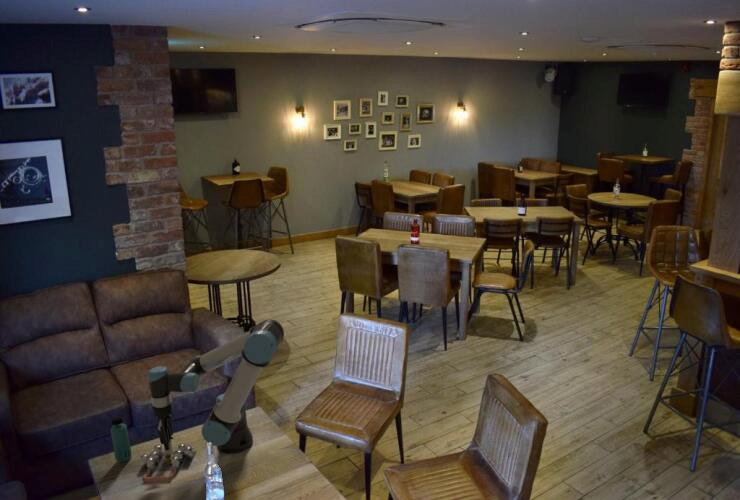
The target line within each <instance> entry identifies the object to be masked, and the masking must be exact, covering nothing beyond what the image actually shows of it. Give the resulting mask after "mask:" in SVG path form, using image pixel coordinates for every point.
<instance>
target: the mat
mask: <svg viewBox="0 0 740 500" xmlns="http://www.w3.org/2000/svg"><path fill="white" fill-rule="evenodd" d="M192 453H193V459H192V460H186V458H185V457H184V458H183V461H184V462H183V463H182V464H180V469H179V470H178V471H188V470H189V468H190V467H191V466H192V465H191V464H192V463H193V460H194V458H195V457H196V455H197V453H198V451H197V450H196V451H193V450H192ZM148 456H149V457H151V456H150V453H149V454H148ZM163 456H165V452H163ZM173 456H175V451H173ZM155 468H156V470H155V471H154V472H167V471H169V472H172V471H173V470H172V464H171V465H164V463H163V457H162V458H161V459H159V464H158V465H155ZM147 471H148V469H143V468H142V466H141V468H140V469H139V470H138V473H146V472H147Z"/></svg>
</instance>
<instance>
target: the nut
mask: <svg viewBox="0 0 740 500" xmlns="http://www.w3.org/2000/svg"><path fill="white" fill-rule="evenodd" d="M172 457H173V454H166V455H165V456H163V463H164V465H171V464H172V463H171V458H172Z"/></svg>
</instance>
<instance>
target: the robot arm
mask: <svg viewBox="0 0 740 500" xmlns="http://www.w3.org/2000/svg"><path fill="white" fill-rule="evenodd" d="M283 327H284V326H282V324H281V323H280V322H279V321H277V320H276V319H275V320H274V319H265V320H261V322H259V323H257V324H256V325H254V326H252V327H250V328H249V331H247V332H245V333H244V334H241V335H240V336H237V337H236V338H233V339H232V340H229V341H227V342H225V343H224V344H221V345H219V346H218V347H216V348H213V349H211V350H210V351H208V352H206V353H204V354H202V355H196V356H194V357H193V358H192V359H190V361H188V362H187V364H186V365H185V366H184V367H183V368H182V369H181V370H180V371H179V372H169V370H168V368H167V367H166V366H163V365H159V366H154V367H153V368H151V369H149V370H148V377H147V378H148V381H147V382H148V384H149V385H148V386H149V390H150V399H151V405H152V413H153V415H154V416H155V417H156V418H157V423H158V425H157V426H156V427H155V430H156V432H157V434H158V438H159V442H160V445H163V447H164V453H165V455H166V454H173V452H174V450H173V445H172V444H173V443H172V440H174V436H173V435H174V434H173V433H174V429H173V412H174V411H173V409H174V408H173V402H172V401H173V399H172V393H173V392H175V393H195V392H196V391H197V390H198V388H199V386H200V377H202V376H204V375H206V374H207V373H210V372H211V371H213V370H215V369H217V368H219V367H221V366H224V365H225V364H228V363H229V362H231V361H234V360H236V359H237V358H238V359H239V357H241V358H242V359H241V361H240V362H239V363H240V364H239V365H238V367H237V369H236V371H235V373H234V375H233V377H232V379H231V381H230V383H229V385H228V387H227V389H226V391H225V392H224V393H221V394H219V395H217V397H216V402H215V405H214V406H213V408H212V410H211V412H210V414H209V416H208V418H207V419H206V421H205V422H204V423H203V424H202V427H201V436H202V437H203V439H204V440H205V441H206V442H207V443H208V444H209V442H211V443H212V445H211V446H214V447H215V446H216V447H217V448H218V449H219V452H221V453H225V454H237V453H242V452H243V451H246V450H247V449H249V448H250V447H251V446H252V445H253V443H254V437H253V434H252V431H251V430H250V428H249V426H248V420H247V411H246V409H247V408H246V401H247V399H248V397H249V395H250V393H251V391H252V389H253V387H254V385H255V383H256V382H257V380H258V378H259V375H260V374H261V372H262V370H263V369H265V368H268V366H269V365H270V363H271V362H272V359H273V358H274V355H275V353H276V351H277V349H278V348H279V347H280V346H281V344H282V343H283V340H284V337H285V331H284V328H283Z"/></svg>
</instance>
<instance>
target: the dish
mask: <svg viewBox="0 0 740 500" xmlns="http://www.w3.org/2000/svg"><path fill="white" fill-rule="evenodd" d="M151 473H152V472H151V471H150V469H148V471H147V472H145V474H144V476H143V477H142V481H143V483H150V482H151V483H152V482H153V483H154V482H171V481H172V480H173V479H174V477H175V474H176V473H177V471H176V467H175V468H174V469H173V471H171V474H170V475H169V476H168V475H164V476H162V475H161V476H150V474H151Z"/></svg>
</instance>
